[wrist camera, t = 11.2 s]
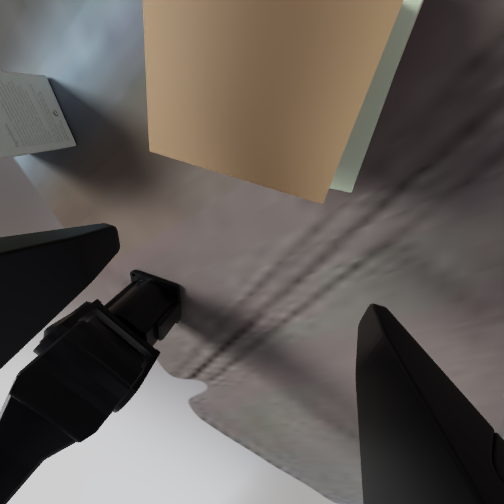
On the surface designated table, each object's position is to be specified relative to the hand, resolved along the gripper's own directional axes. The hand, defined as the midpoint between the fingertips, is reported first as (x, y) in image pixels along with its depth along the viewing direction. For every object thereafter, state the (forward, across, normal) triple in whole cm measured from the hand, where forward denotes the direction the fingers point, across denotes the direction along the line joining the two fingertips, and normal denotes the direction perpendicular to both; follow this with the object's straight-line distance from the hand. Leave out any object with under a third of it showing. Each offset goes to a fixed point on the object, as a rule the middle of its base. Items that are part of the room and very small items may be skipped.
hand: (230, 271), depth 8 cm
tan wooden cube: (+5, 0, -6) cm, 8 cm away
